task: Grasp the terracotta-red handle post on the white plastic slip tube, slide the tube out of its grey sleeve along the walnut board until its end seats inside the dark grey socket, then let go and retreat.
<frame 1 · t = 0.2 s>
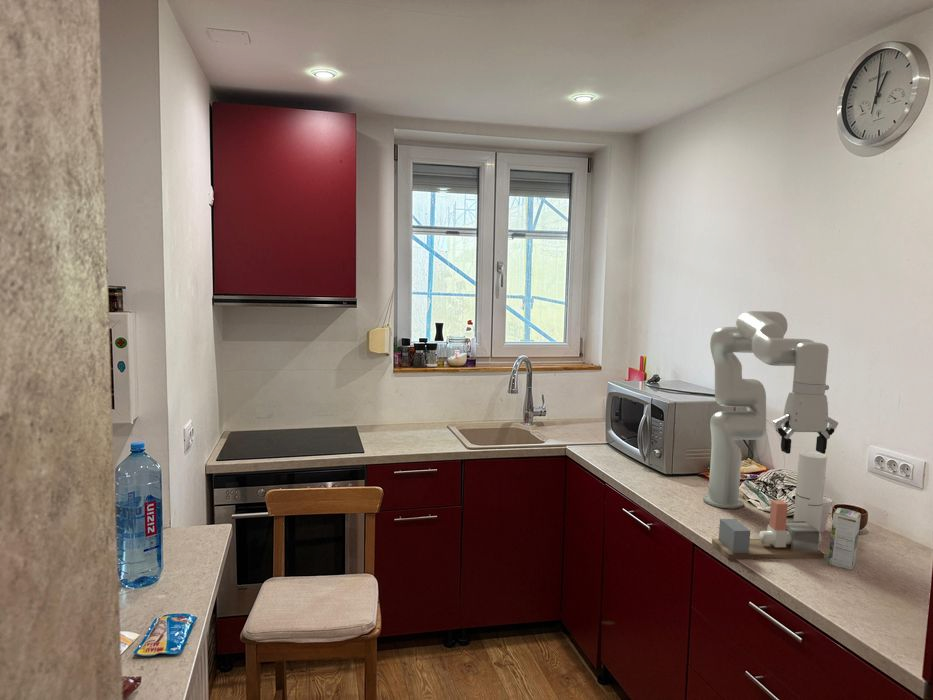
hand: (803, 452, 167), 30 cm above the worktop, fingers open, 9 cm apart
sleeve board: (785, 551, 176), on the worktop
smoothie: (817, 530, 192), on the worktop
socket: (733, 551, 175), resting on sleeve board
cylindrical container: (805, 536, 187), on the worktop
slip tube: (791, 522, 175), point 8 cm above the worktop, slide at 0.0 cm
syrup box: (841, 564, 169), on the worktop
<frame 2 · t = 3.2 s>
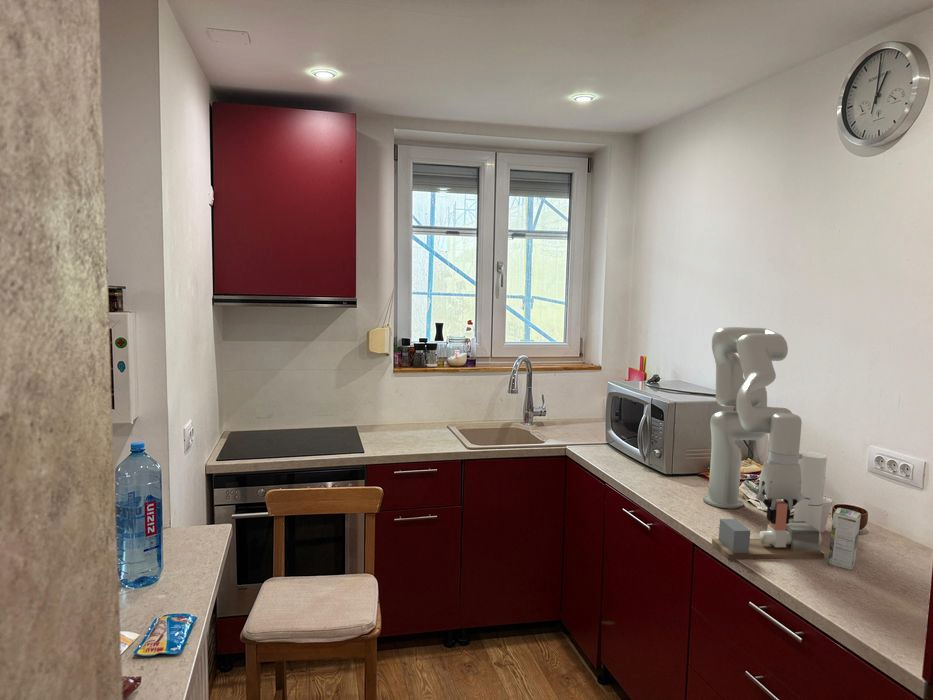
hand: (777, 521, 175), 9 cm above the worktop, fingers closed on slip tube, 3 cm apart
slip tube: (791, 522, 175), point 8 cm above the worktop, slide at 0.0 cm, touching gripper
everything else where it was.
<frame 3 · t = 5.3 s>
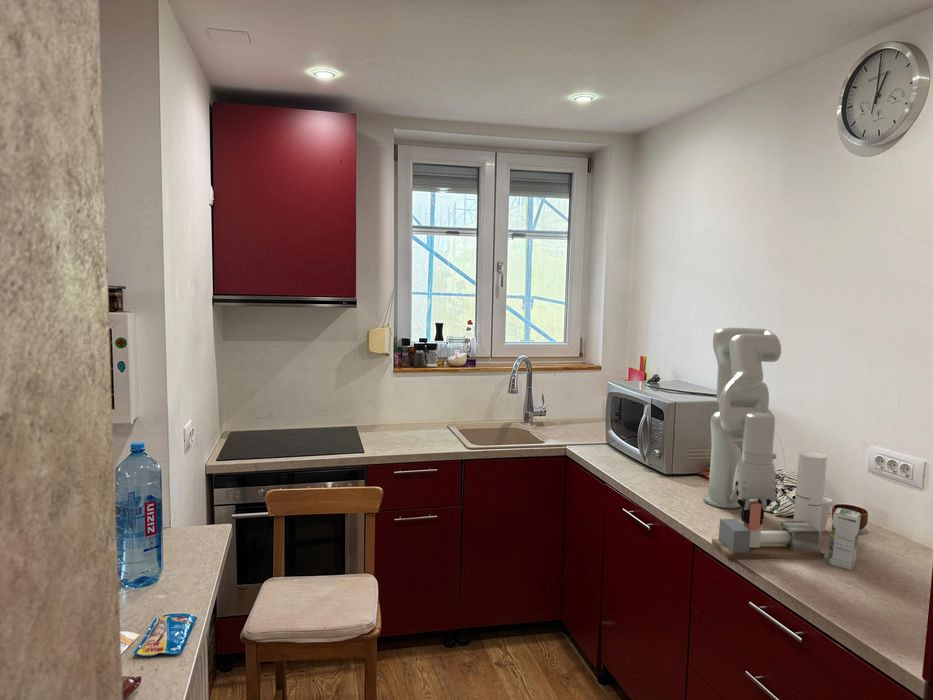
hand: (751, 521, 174), 9 cm above the worktop, fingers closed on slip tube, 3 cm apart
slip tube: (765, 523, 175), point 8 cm above the worktop, slide at 7.5 cm, touching gripper
everything else where it was.
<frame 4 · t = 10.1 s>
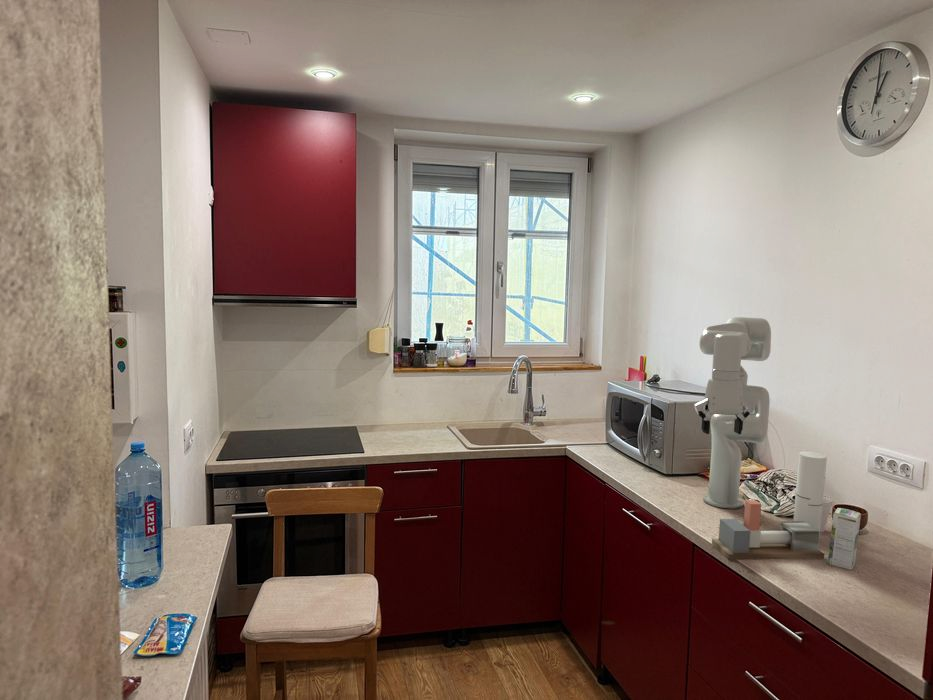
hand: (721, 433, 186), 30 cm above the worktop, fingers open, 9 cm apart
slip tube: (765, 523, 175), point 8 cm above the worktop, slide at 7.5 cm
everything else where it was.
at the end: slip tube slide at 7.5 cm; the gripper is holding nothing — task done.
